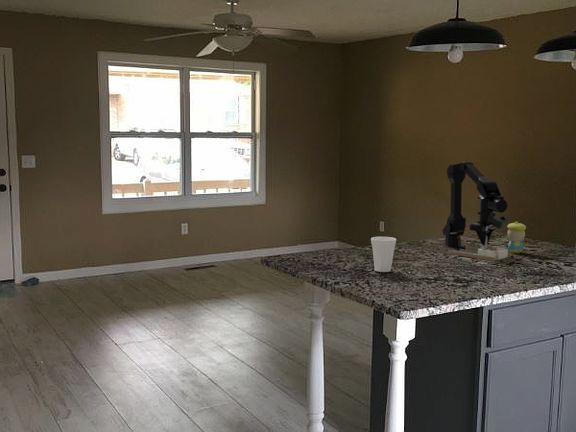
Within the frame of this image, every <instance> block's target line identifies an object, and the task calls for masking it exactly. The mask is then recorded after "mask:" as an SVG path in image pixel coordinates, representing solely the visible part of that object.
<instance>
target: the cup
mask: <svg viewBox="0 0 576 432" xmlns="http://www.w3.org/2000/svg"><path fill="white" fill-rule="evenodd" d="M370 243H371V247H372V257H373V264H374V265H373V266H374V271H376V272H380V273H389V272H391V270H392V265H393V259H394V254H395V248H396V245H397V244H396V243H397V238H395V237H391V236H373V237H371V238H370Z"/></svg>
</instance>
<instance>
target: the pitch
mask: <svg viewBox="0 0 576 432" xmlns="http://www.w3.org/2000/svg"><path fill="white" fill-rule="evenodd" d="M478 249H481V247H474V246H465V249H463V248H459V250H455V249H454V250H450V249H449V250H448V249H447V254H448V255H453V256H459V257H467V258H471V259H478V260H484V261H488V262H495V261H497V260H495V257H489V256H483V255H478ZM489 250H490V251H492V250H493V249H489ZM510 257H512V253H511V252H510V251H508V257H506V258H510ZM506 258H505V259H506ZM499 260H501V259H499ZM499 260H498V261H499Z"/></svg>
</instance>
